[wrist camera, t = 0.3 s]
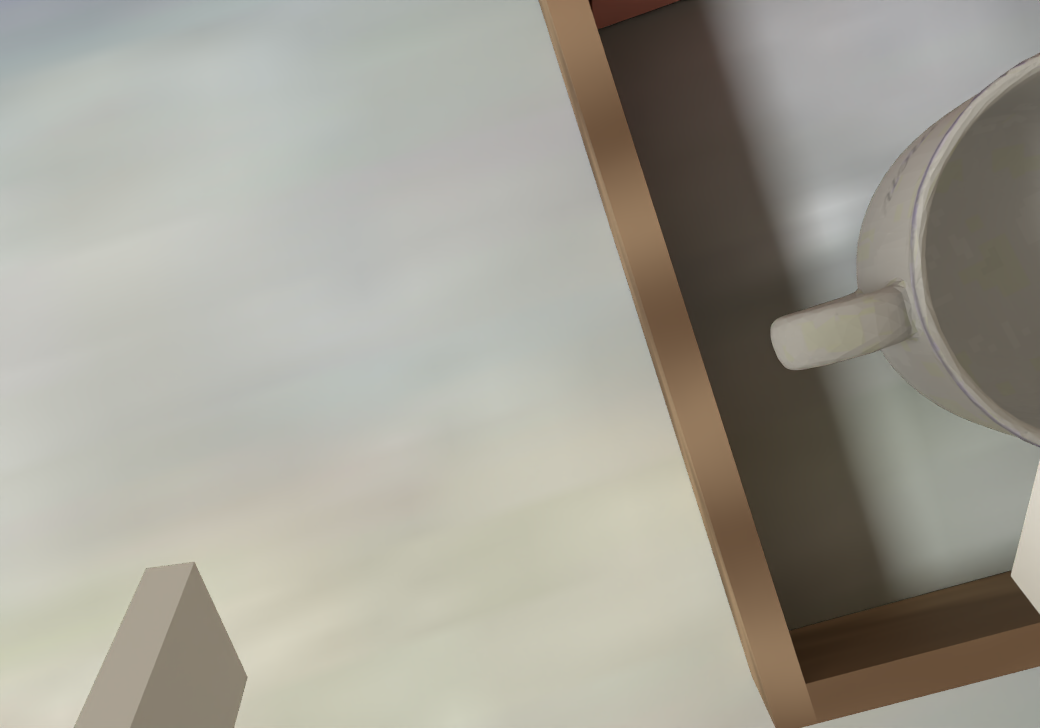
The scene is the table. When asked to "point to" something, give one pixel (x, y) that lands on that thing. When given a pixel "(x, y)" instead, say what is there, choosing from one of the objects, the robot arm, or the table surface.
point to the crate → (718, 489)
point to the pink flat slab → (622, 9)
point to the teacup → (950, 266)
